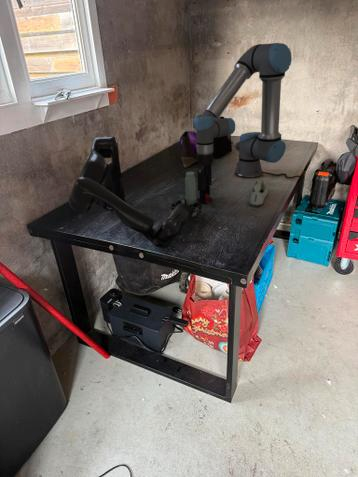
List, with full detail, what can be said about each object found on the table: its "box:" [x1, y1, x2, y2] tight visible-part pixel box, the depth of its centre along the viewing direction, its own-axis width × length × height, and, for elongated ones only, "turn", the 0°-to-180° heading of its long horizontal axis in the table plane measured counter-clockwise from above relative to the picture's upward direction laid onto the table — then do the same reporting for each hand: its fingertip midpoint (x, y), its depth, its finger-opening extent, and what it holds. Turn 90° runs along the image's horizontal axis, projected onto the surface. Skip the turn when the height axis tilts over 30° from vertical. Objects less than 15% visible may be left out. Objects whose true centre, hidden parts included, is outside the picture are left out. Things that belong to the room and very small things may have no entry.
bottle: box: [184, 171, 198, 218], centre depth 143 cm, size 4×4×19 cm
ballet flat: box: [249, 179, 269, 207], centre depth 158 cm, size 8×24×8 cm, turn 163°
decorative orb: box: [178, 130, 197, 153], centre depth 230 cm, size 15×15×15 cm
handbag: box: [213, 115, 233, 159], centre depth 220 cm, size 21×9×25 cm, turn 148°
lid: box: [206, 194, 211, 203], centre depth 160 cm, size 5×5×2 cm
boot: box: [180, 130, 197, 169], centre depth 209 cm, size 9×24×20 cm, turn 168°
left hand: (193, 199), depth 147 cm, fingers closed on bottle, 4 cm apart
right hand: (204, 200), depth 160 cm, fingers open, 6 cm apart
